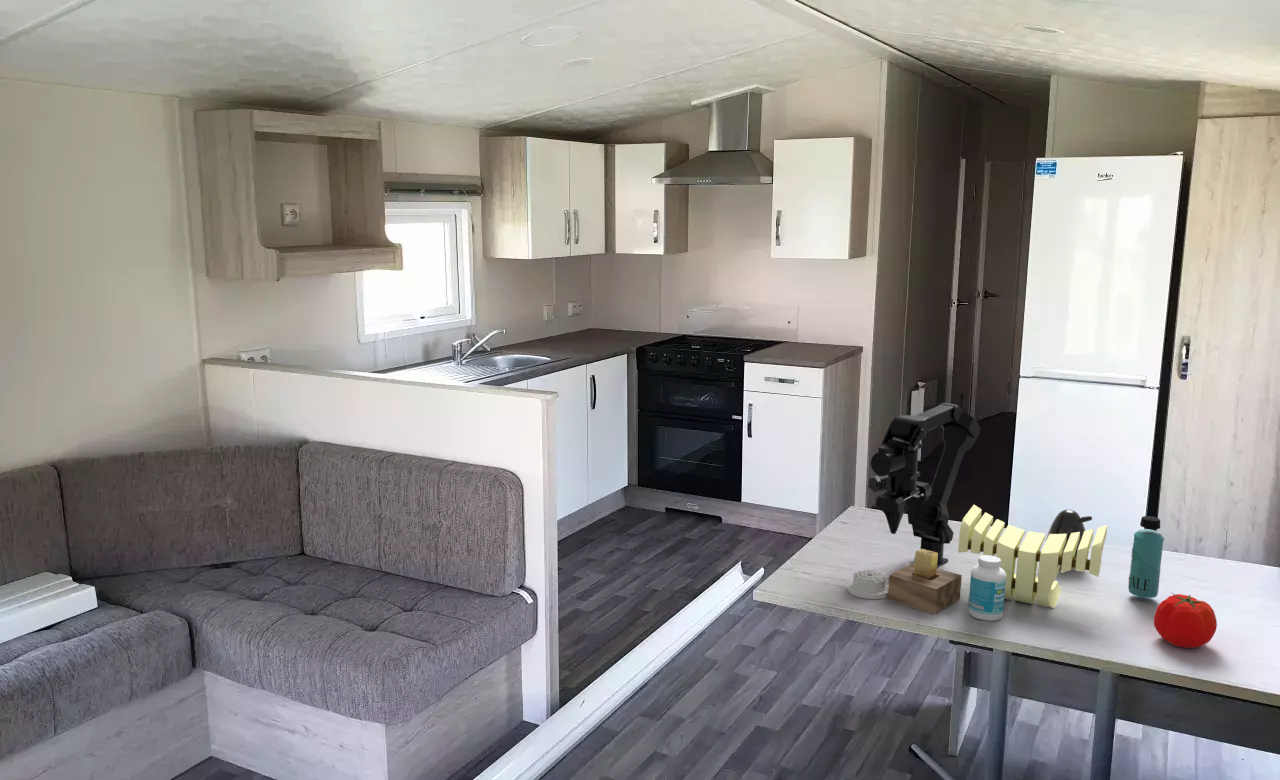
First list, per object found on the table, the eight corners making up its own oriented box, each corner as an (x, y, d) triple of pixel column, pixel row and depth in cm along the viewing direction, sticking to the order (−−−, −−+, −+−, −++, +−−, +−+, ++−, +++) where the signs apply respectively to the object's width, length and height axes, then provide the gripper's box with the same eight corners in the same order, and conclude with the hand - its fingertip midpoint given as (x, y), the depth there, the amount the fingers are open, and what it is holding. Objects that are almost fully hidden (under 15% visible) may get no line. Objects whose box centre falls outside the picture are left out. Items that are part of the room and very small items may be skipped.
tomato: (1146, 628, 211) (1151, 583, 209) (1205, 634, 208) (1211, 589, 206) (1158, 651, 200) (1163, 604, 198) (1220, 659, 197) (1226, 611, 195)
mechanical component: (847, 598, 227) (891, 602, 225) (848, 580, 226) (892, 584, 224) (847, 582, 236) (889, 586, 234) (848, 565, 236) (890, 568, 234)
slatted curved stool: (955, 593, 229) (960, 522, 226) (969, 572, 243) (974, 504, 240) (1093, 620, 215) (1101, 544, 212) (1100, 596, 228) (1107, 524, 225)
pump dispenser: (1084, 577, 240) (1089, 518, 237) (1039, 569, 246) (1044, 511, 243) (1089, 564, 249) (1095, 508, 246) (1046, 557, 254) (1051, 501, 251)
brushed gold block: (919, 588, 228) (922, 548, 226) (935, 593, 225) (937, 553, 224) (913, 592, 226) (915, 551, 224) (928, 597, 223) (931, 556, 222)
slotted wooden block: (913, 585, 234) (915, 561, 233) (960, 599, 226) (961, 575, 225) (887, 599, 226) (889, 574, 225) (935, 614, 218) (936, 589, 217)
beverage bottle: (1155, 595, 229) (1164, 514, 225) (1160, 606, 223) (1169, 523, 219) (1124, 591, 231) (1133, 511, 227) (1128, 602, 225) (1137, 520, 221)
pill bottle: (998, 625, 212) (1003, 566, 210) (964, 617, 216) (968, 560, 214) (1006, 613, 219) (1010, 556, 216) (972, 606, 222) (976, 550, 220)
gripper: (893, 454, 248) (890, 512, 251) (856, 470, 235) (854, 531, 238) (934, 462, 241) (930, 522, 244) (898, 478, 227) (895, 541, 230)
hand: (902, 528), depth 239 cm, fingers open, 9 cm apart
